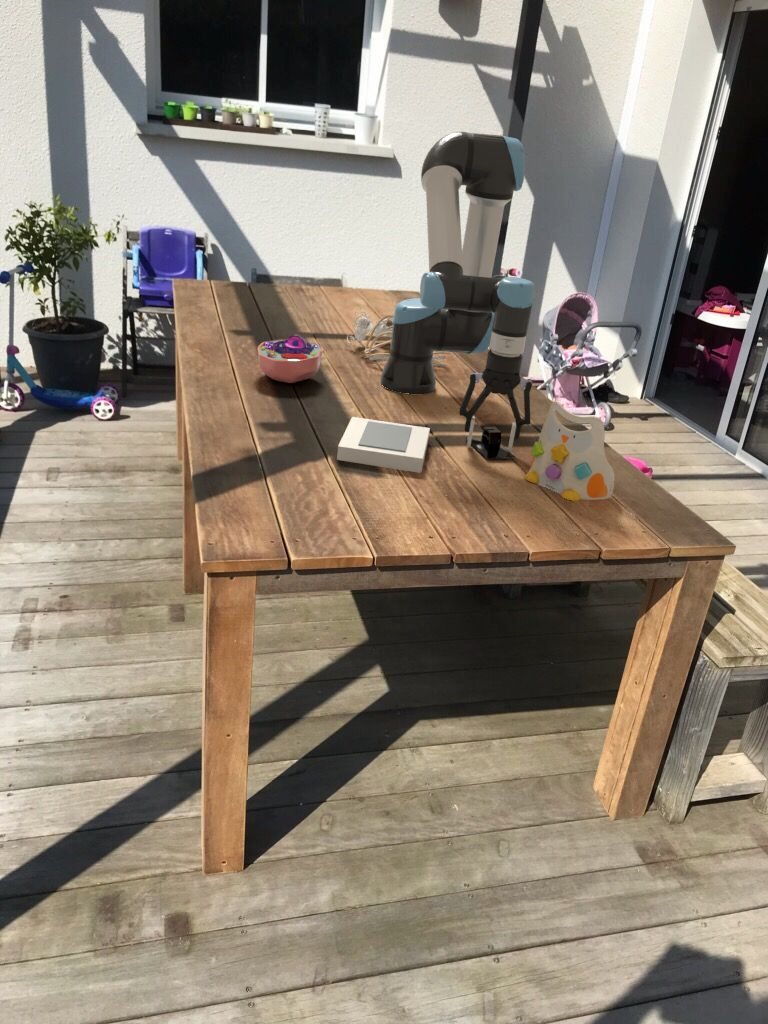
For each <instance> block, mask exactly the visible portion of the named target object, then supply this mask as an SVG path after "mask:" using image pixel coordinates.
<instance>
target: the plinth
mask: <svg viewBox="0 0 768 1024" xmlns="http://www.w3.org/2000/svg"><path fill="white" fill-rule="evenodd" d="M430 430H431V428H430V427H425V426H420V425H419V426H417V425H412V424H411V425H410V424H404V423H397V422H390V421H383V420H376V419H371V418H363V417H356V416H352V417H351V419H350V420H349V423H348V425H347V427H346V429H345V432H344V433H343V436H342V437H341V439H340V441H339V443H338V446H337V453H336V454H337V455H336V456H337V457H336V460H337V461H342V462H343V461H344V462H348V463H349V462H350V463H354V464H355V463H356V464H362V465H368V466H375V467H381V468H386V469H393V470H400V471H404V472H405V471H406V472H412V473H418V474H419V473H420V474H422V470H423V466H424V462H425V459H426V453H427V449H428V443H429V436H430V432H431V431H430Z"/></svg>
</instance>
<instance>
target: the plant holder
mask: <svg viewBox="0 0 768 1024" xmlns="http://www.w3.org/2000/svg"><path fill="white" fill-rule="evenodd" d="M360 313H362V314H361V315H360V316H359V314H360ZM354 314H355V315H354V316H355V317H354V318H355V319H354V321H353V327H355V328H353V331H354V336H351V335H346V341H347V343H349V344H351V342H350V341H349V340H351V341H352V340H354V341H355V340H357V341H358V342H359V343H360V342H363V341H364V340H365V339H367V341H366V343H365V346H364V347H365V348H364V349H363V350H362V351H361V353H364V354H368V355H365V357H364V359H368V358H369V360H370V361H375V360H383V361H387V360H388V358H389V355H390V351H389V352H387V353H386V352H385V353H384V352H382V353H379V352H378V353H373V354H372V352H374V351H375V350H377V349H378V348H381V347H383V346H386V345H388V344H391V338H392V329H393V318H394V313H393V314H390V315H386V316H383V317H381V318H379V319H377V321H376V323H375V324H374V323H373V321H371V317H370V315H369V314H368V312H367V311H366V310H364V309H362V311H359V312H355V313H354ZM357 325H358V326H357ZM367 334H368V335H367ZM373 335H374V338H373V340H372V337H373ZM385 335H386V336H387V337H388V338H390V339H389V340H387V341H384V342H380V343H377V344H375V342H376V341H377V340H378V339H379V338H380V337H382V336H383V337H384V336H385ZM371 340H372V341H371ZM370 341H371V343H370ZM374 344H375V345H374ZM449 354H451V352H444V351H434V352H433V358H432V363H433V368H434V367H435V366H440V367H445V366H446V360H445V361H444V362H443V364H442V362H440V361H441V360H444V359H446V356H445V355H449ZM386 363H387V362H385V363H383V365H384V366H385V365H386ZM374 364H376V365H382V363H381V362H373V365H374Z"/></svg>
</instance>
